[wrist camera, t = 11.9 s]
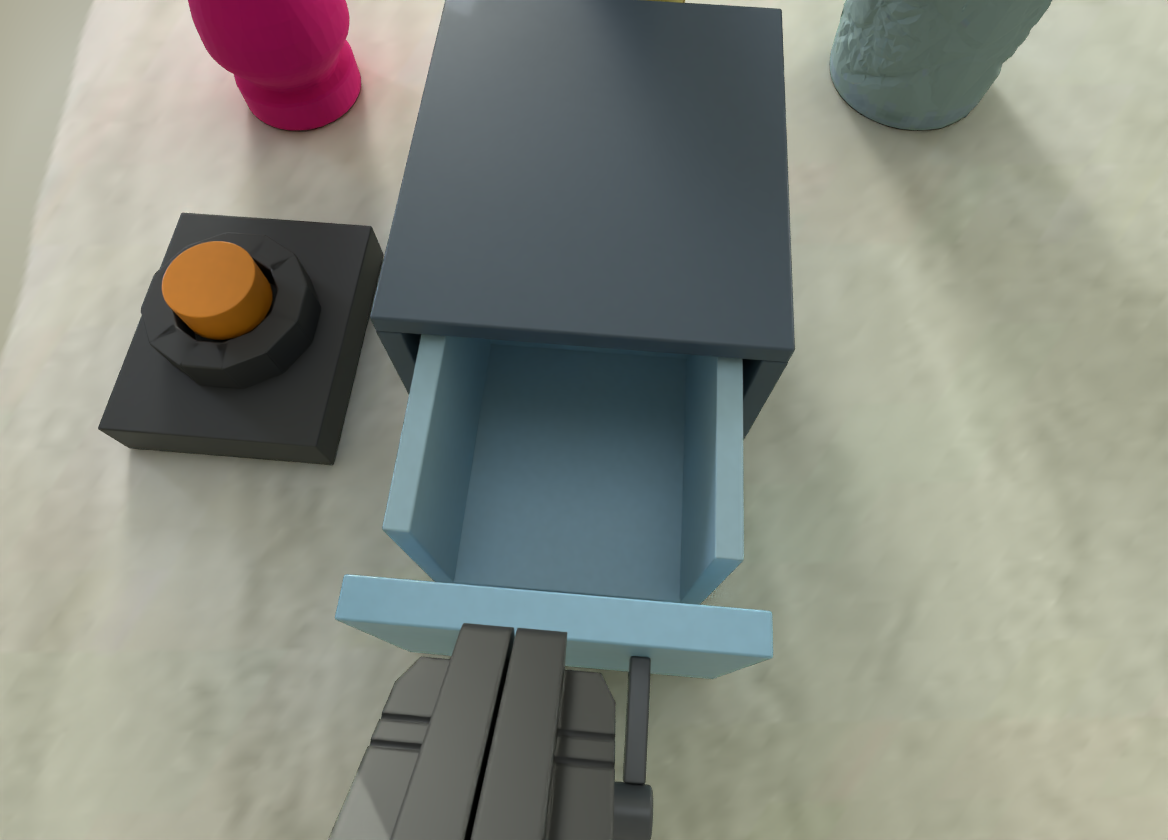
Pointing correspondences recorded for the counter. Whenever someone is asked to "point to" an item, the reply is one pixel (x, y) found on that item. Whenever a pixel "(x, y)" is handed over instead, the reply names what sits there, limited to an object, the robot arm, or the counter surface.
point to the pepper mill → (284, 56)
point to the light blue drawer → (572, 517)
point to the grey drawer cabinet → (598, 185)
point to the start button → (217, 290)
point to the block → (253, 349)
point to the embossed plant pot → (925, 56)
